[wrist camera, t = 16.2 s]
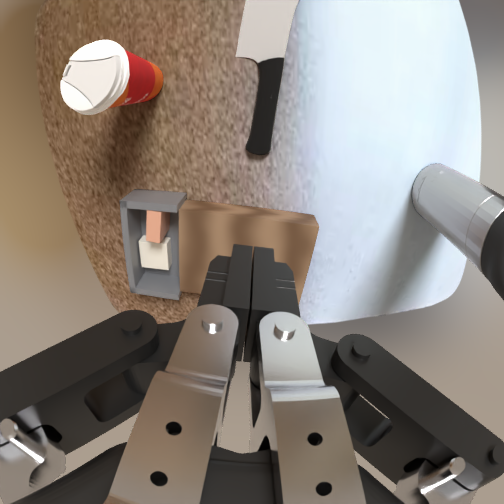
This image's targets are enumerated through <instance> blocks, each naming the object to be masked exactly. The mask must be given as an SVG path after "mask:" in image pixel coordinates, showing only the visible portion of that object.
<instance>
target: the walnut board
mask: <svg viewBox="0 0 504 504" xmlns="http://www.w3.org/2000/svg"><path fill="white" fill-rule="evenodd" d="M318 230H319V225H318V223H317V221H316V219H315V216H314V215H310V214H303V213H296V212H289V211H282V210H274V209H267V208H259V207H250V206H242V205H233V204H224V203H215V202H205V201H195V200H186V201H185V202H184V204H183V205H182V206H181V208H180V209H179V277H180V291H183V292H190V293H197V294H201V291H202V288H203V284H204V281H205V277H206V274H207V271H208V267H209V264H210V262H211V261H212V260H213V259H214V258H215V257H216V256H217V255H221V256H229V257H231V255H232V249H233V244H239V245H248V246H253V251H254V246H257V247H265V248H273V249H274V258H275V262H281V263H286V264H287V265H288V266H289V267H290V269H291V270H292V271H293V275H294V282H295V287H296V289H295V290H296V293H297V299H298V305H299V302H300V298H301V294H302V291H303V287H304V284H305V280H306V276H307V273H308V269H309V265H310V261H311V258H312V254H313V250H314V246H315V242H316V238H317V234H318ZM253 251H252V257H253Z"/></svg>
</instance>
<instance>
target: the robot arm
mask: <svg viewBox="0 0 504 504" xmlns="http://www.w3.org/2000/svg"><path fill="white" fill-rule="evenodd" d="M412 199H413V204H414V207H415V209H416V210H417V212H418V213H419V214H420V215H421V216H422V217H423V218H425V219H426V220H427V221H428V222H429V223H430V224H431V225H433V226H434V227H435V228H436V229H437V230H438V231H439V232H440V233H442V234H443V235H444V236H445V237H446V238H447V239H448V240H449V241H450V242H451V243H452V244H453V245H454V246H456V247H457V248H458V249H459V250H460V251H461V252H462V253H463V254H464V255H465V256H466V257H467V258H468V259H469V260H470V261H471V262H472V263H473V264H474V265H475V266H476V267H477V268H478V269H479V270H480V271H481V272H482V274H484V275H485V277H486V278H487V279H488V280H489V281H490V283H491V284H492V286H493V288H494V289H495V290H496V292H497V293H498V294H499V295H500V296H501V298H502V299H503V300H504V196H502V195H500V194H499V193H497V192H495V191H494V190H492V189H490V188H488V187H486V186H485V185H483V184H481V183H479V182H477V181H475V180H473V179H471V178H469V177H467V176H465V175H463V174H461V173H459V172H458V171H456V170H453V169H451V168H449V167H447V166H445V165H442V164H437V163H435V164H431V165H428V166H426V167H425V168H424V169H423V170H422V171H421V172H420V173H419V174H418V176H417V178H416V179H415V182H414V185H413V190H412ZM252 251H253V246H248V245H239V244H233V249H232V255H231V257H229V256H221V255H217V256H216V257H215V258H214V259H213V260H212V261H211V262H210V264H209V267H208V271H207V274H206V277H205V281H204V284H203V288H202V291H201V295H200V298H199V302H198V305H197V307H196V308H195V309H193V310H192V311H191V312H190V313H189V314H188V316H187V319H185V320H182V321H180V322H175V323H166V324H157V322H156V320H155V319H154V318H153V316H151V315H150V314H148V313H147V312H144V311H140V310H128V311H124V312H121V313H119V314H117V315H115V316H113V317H111V318H109V319H107V320H105V321H103V322H101V323H99V324H96V325H94V326H92V327H90V328H88V329H86V330H84V331H83V332H80V333H78V334H76V335H74V336H72V337H70V338H68V339H66V340H64V341H62V342H60V343H58V344H56V345H54V346H52V347H50V348H48V349H46V350H44V351H42V352H40V353H38V354H36V355H34V356H32V357H30V358H27V359H26V360H24V361H21V362H20V363H17V364H15V365H13V366H11V367H10V368H7V369H5V370H3V371H1V372H0V497H1V499H2V501H3V503H4V504H470V503H471V501H472V499H473V497H474V495H475V493H476V491H477V490H478V489H479V488H480V487H482V486H484V485H486V484H487V483H489V482H491V481H493V480H495V479H496V478H498V477H499V476H501V475H502V474H503V473H504V442H503V441H502V440H501V439H500V438H498V437H497V436H496V435H494V434H493V433H492V432H491V431H489V430H488V429H486V427H484V426H483V425H482V424H480V423H479V422H478V421H476V420H475V419H474V418H473V417H471V416H470V415H469V414H467V413H466V412H465V411H464V410H463V409H461V408H460V407H459V406H457V405H456V404H455V403H453V402H452V401H451V400H450V399H448V398H447V397H446V396H445V395H443V394H442V393H441V392H439V391H438V390H437V389H435V388H434V387H433V386H432V385H430V384H429V383H428V382H426V381H425V380H424V379H423V378H421V377H420V376H419V375H417V374H416V373H415V372H413V371H412V370H411V369H410V368H408V367H407V366H406V365H404V364H403V363H402V362H401V361H399V360H398V359H397V358H395V357H394V356H393V355H392V354H390V353H389V352H388V351H386V350H385V349H384V348H383V347H381V346H380V345H379V344H377V343H376V342H375V341H373V340H372V339H370V338H368V337H366V336H364V335H360V334H350V335H346V336H344V337H343V338H342V339H340V341H339V343H335V342H332V341H329V340H325V339H322V338H320V337H317V336H315V335H314V334H312V333H311V332H310V330H309V327H308V325H307V324H306V322H305V321H304V320H302V319H301V318H300V311H299V305H298V299H297V293H296V290H295V289H296V287H295V282H294V275H293V271H292V270H291V269H290V267H289V266H288V265H287V264H286V263H281V262H275V258H274V249H273V248H265V247H257V246H254V251H253V257H252ZM244 341H245V343H244ZM243 347H244V359H243V361H244V362H250V374H249V379H248V395H249V414H250V442H249V453H244V454H241V453H236V452H233V451H230V450H226V449H223V448H221V447H219V445H220V439H221V433H222V427H223V421H224V417H225V412H226V406H227V401H228V396H229V391H230V385H231V380H232V378H233V376H234V373H235V366H236V361H241V359H242V353H243ZM360 394H361V395H362V396H363V397H364V398H365V399H367V400H368V401H369V402H370V403H371V404H372V405H374V406H375V407H376V408H377V409H378V410H380V411H381V412H382V413H383V414H385V415H386V416H387V417H388V418H389V419H388V418H386V417H385V416H383V415H382V414H381V413H380V412H378V411H377V410H376V409H375V408H374V407H373V406H371V405H370V404H369V403H368V402H367V401H365V400H364V399H363V398H362V397H361V396H360ZM138 412H139V414H138V416H137V418H136V421H135V423H134V426H133V429H132V431H131V434H130V437H129V439H128V442H125V443H122V444H119V445H116V446H114V447H112V448H110V449H108V450H106V451H105V452H103V453H101V454H100V455H98V456H97V457H95V458H93V459H92V460H90V461H89V462H87V463H85V464H84V465H82V466H80V467H79V468H77V469H75V470H74V471H72V472H70V473H69V474H67V475H65V476H63V477H62V478H60V479H58V480H56V481H54V480H55V479H56V478H57V477H59V476H60V475H61V474H62V473H64V472H65V470H66V466H65V464H66V458H65V455H66V454H68V453H70V452H72V451H74V450H76V449H77V448H79V447H81V446H83V445H85V444H87V443H88V442H90V441H91V440H93V439H95V438H97V437H99V436H100V435H102V434H104V433H106V432H107V431H109V430H111V429H112V428H114V427H116V426H117V425H119V424H121V423H122V422H124V421H125V420H127V419H129V418H130V417H132V416H133V415H135V414H137V413H138ZM354 450H355V451H356V452H357V453H359V454H360V455H361V456H362V457H363V458H364V459H366V460H367V461H368V462H369V463H370V464H372V465H373V466H374V467H375V468H377V469H378V470H379V471H380V472H381V473H383V474H384V475H385V476H386V477H387V478H389V479H390V480H391V481H392V482H394V483H395V484H396V485H397V486H396V490H395V491H394V493H392V492H390V491H389V490H388V489H387V488H386V487H385V486H383V485H382V484H381V483H380V482H379V481H378V480H376V479H375V478H374V477H373V476H372V475H371V474H370V473H369V472H368V471H367V470H365V469H364V468H363V467H361V466H360V465H358V464H357V461H356V457H355V453H354ZM53 481H54V482H53Z"/></svg>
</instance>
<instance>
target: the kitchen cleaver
mask: <svg viewBox="0 0 504 504" xmlns="http://www.w3.org/2000/svg"><path fill="white" fill-rule="evenodd" d="M298 2H299V0H246V3H245V8H244V13H243V18H242V24H241V29H240V35H239V40H238V46H237V52H236V57H245V58H250V59H253V60H255V61H256V62H257V63H258V68H259V74H260V78H259V86H258V93H257V99H256V105H255V110H254V116H253V122H252V127H251V132H250V136H249V139H248V142H247V144H246V149H247V151H248V152H250V153H253V154H257V155H265V154H268V153H270V151H271V144H272V136H273V130H274V123H275V117H276V110H277V104H278V99H279V93H280V87H281V82H282V76H283V69H284V62H285V58H284V57H285V52H286V47H287V42H288V38H289V33H290V28H291V24H292V20H293V16H294V12H295V9H296V7H297V4H298Z"/></svg>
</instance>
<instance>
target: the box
mask: <svg viewBox="0 0 504 504" xmlns="http://www.w3.org/2000/svg"><path fill="white" fill-rule="evenodd" d="M186 198H187V193H181V192H169V191H156V190H141V189H134V190H133V191H132V192H130V193H129V194H128V195H126V196H125V197H124V198H123V199H121V200H120V211H121V223H122V234H123V243H124V251H125V259H126V267H127V273H128V280H129V286H130V292H131V293H137V294H143V295H149V296H155V297H161V298H167V299H174V300H179V298H180V296H181V293H182V291H180V277H179V209H180V208H181V206H182V205H183V204H184V202H185V201H186ZM147 210H152V211H163V212H170V226H169V230H168V232H167V233H166V235H165V236H164V237H169V238H171V254H172V264H171V266H170V268H169V270H163V269H155V268H146V267H142V265H141V258H140V249H139V240H140V239H141V238H142V236H143V235H146V220H147Z"/></svg>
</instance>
